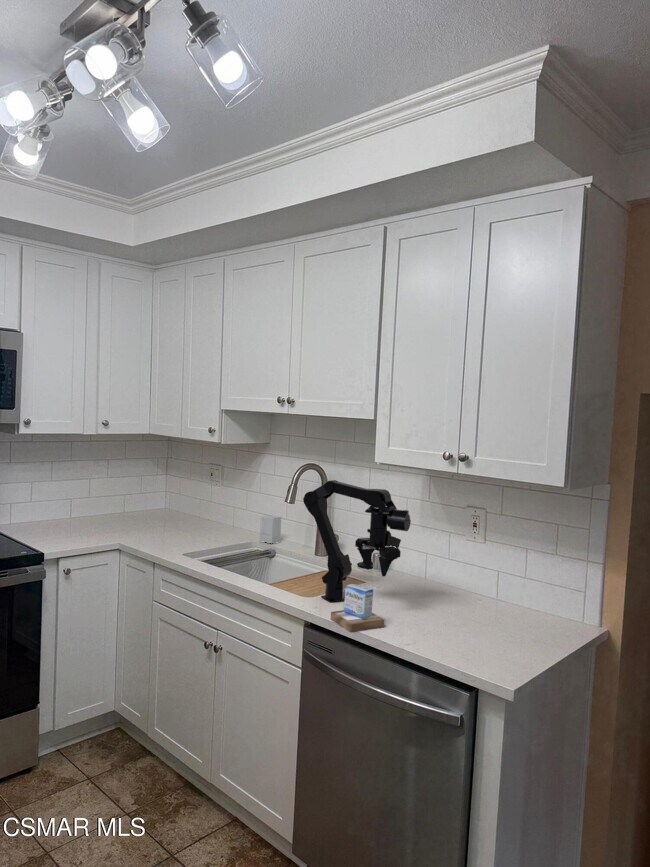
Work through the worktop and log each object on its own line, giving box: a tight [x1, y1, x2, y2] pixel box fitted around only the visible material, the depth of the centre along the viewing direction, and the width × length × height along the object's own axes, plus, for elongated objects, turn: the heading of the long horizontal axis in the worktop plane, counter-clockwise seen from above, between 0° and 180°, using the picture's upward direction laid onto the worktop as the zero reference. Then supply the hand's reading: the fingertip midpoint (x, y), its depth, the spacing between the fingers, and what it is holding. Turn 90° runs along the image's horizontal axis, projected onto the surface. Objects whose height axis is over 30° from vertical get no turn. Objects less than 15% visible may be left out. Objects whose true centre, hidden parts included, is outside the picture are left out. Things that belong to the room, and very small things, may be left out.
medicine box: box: [343, 583, 374, 619], centre depth 197 cm, size 8×4×9 cm, turn 50°
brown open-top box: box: [330, 609, 385, 633], centre depth 197 cm, size 12×12×3 cm
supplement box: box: [259, 514, 282, 544], centre depth 307 cm, size 7×7×13 cm
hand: (375, 572), depth 214 cm, fingers open, 9 cm apart
